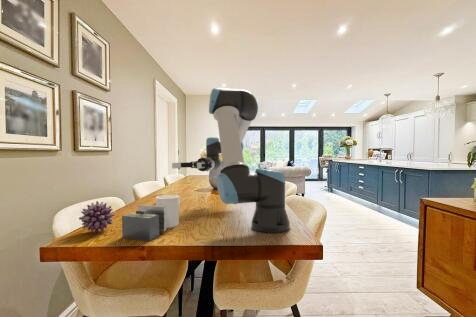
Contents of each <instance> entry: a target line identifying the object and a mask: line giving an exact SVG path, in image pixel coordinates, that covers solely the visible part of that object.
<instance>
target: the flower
mask: <svg viewBox="0 0 476 317" xmlns="http://www.w3.org/2000/svg"><path fill="white" fill-rule="evenodd" d="M90 204H91V205H90ZM90 204H87V205H86V207H87V208H82V211H80V213H81V214H83V215H82V216H80V217H78V220H79V221H80V220H81V225H82V227H81V228H82V229H84V230H85V229H87V231H90V233H93V232H94V231H95V233H98V232H99V230H100V231H101V232H104V231H105V229H107V228H108V227H107V226H108V225H112V224H113V219H112V218H113V217H114V216H116V214H115V213H112V211H113V208H112V205H108V206H107V202H105V203H104V202H103V201H101V202H100V203H99V201H98V200H96V203H95V204H94V202H91V203H90ZM104 228H105V229H104Z"/></svg>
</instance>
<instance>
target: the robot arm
mask: <svg viewBox="0 0 476 317" xmlns="http://www.w3.org/2000/svg"><path fill="white" fill-rule="evenodd" d="M258 110H259V106H258V101H257V98H256V97H255V96H254V93H252V92H250V91H248V90H246V89H238V88H228V87H227V88H225V87H224V88H223V87H214V88H212V90H211V91H210V96H209V104H208V113H209V114H210V115H212V117H213V119H214V120H215V121H216V122H217V128H218V136H219V137H213V136H211V137H207V138H206V142H205V147H206V150H205V151H206V152H205V153H206V154H205V155H206V157H199V158H198V159H197V160H195V161H190V162H171V168H172V169H178V170H180V169H182V168H190V169H197V170H198V171H199V172H207V173H208V172H209V171H216V170H219V169H220V171H219V173H218V174H217V177H216V187H217V192H218V197H219V198H220V200H221V202H222V203H223V204H226V205H232V204H233V205H237V204H248V203H255V210H254V213H253V215H252V218H251V219H252V220H251V229H253V230H255V231H256V232H260V233H270V234H272V233H273V234H276V233H277V234H278V233H284V232H287V231H288V230H290V228H291V225H290V219H289V216H288V213H287V210H286V177H285V176H286V175H285V174H284V172H283V171H279V170H271V169H264V168H256V169H255V171H254V172H251V171H250V167H249V165H247V164H245V160H244V159H245V158H244V153H243V149H244V144H243V140H244V139H245V136H246V134H247V131H248V129H249V128H250V125H251V123H252V121H254V120H255V119H256V117H257V115H258ZM220 154H221V159H222V160H221V159H220ZM221 167H222V168H221Z"/></svg>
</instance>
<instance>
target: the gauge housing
mask: <svg viewBox="0 0 476 317" xmlns="http://www.w3.org/2000/svg"><path fill="white" fill-rule="evenodd" d="M121 233H122V234H121V238H123V239H129V240H130V239H131V240H138V241H146V242H151V241H153V240H155V239H157V238H159V237H160V231H159V215H153V214H136V212H131V213H127V214H124V215H122V216H121Z"/></svg>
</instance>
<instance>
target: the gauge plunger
mask: <svg viewBox="0 0 476 317" xmlns="http://www.w3.org/2000/svg"><path fill="white" fill-rule="evenodd" d="M135 213H136V214H153V215H159V232H160V231H161V232H165V231H167V228H166V206H156V205H153V204H152V205H151V204H148V205H147V204H138V205H137V210H136V211H135Z"/></svg>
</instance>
